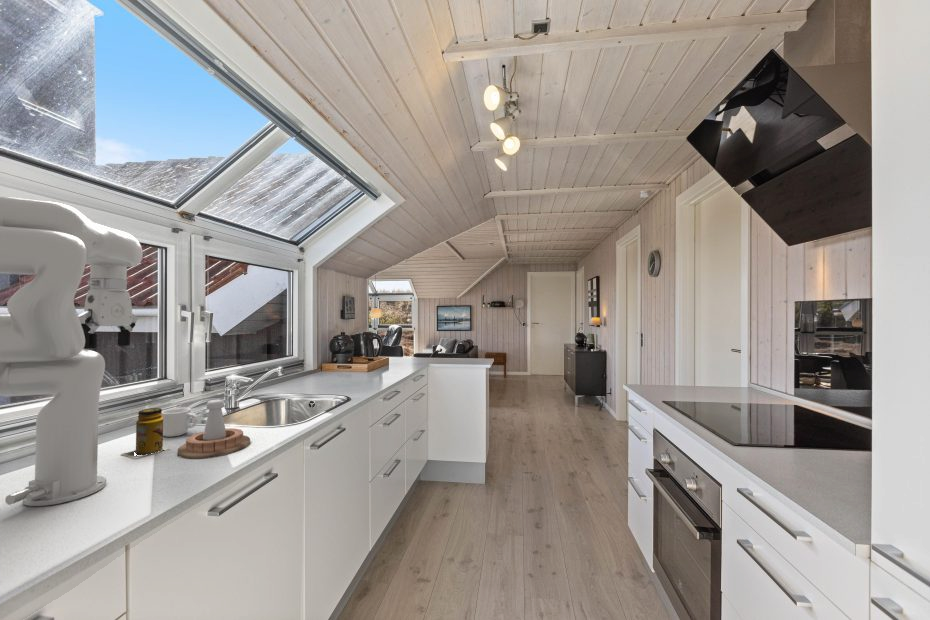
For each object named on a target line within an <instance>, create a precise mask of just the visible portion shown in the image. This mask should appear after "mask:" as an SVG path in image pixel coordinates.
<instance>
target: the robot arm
mask: <svg viewBox="0 0 930 620" xmlns="http://www.w3.org/2000/svg"><path fill="white" fill-rule="evenodd" d="M143 251H144V250H143V248H142V245H141V243H140V242H139V240H138V239H137V238H136V237H134V236H133V235H132V234H130V233H128V232H126V231H122V230H119V229H115V228H111V227H108V226H105V225H102V224H99V223H95V222H93V221H92V220H91V219H89V218H87V216H85V214H83V213H82V212H80V211H79V210H78V209H76V208H75V207H73V206H70V205H67V204H63V203H60V202H53V201H46V200H37V199H29V198H28V199H27V198H18V197H9V196H0V274H2V275H24V276H25V275H31V276H35V277H34V278H33V279H32V280H31V281H29V282H28V283H26V284H24V285H23V286H21V287H20V288H18V290H16V291H15V292H14V293H13V294H12V295H11V297H10V298H8V301H7V304H6V308H7V311H8V313H0V397H23V396H24V397H25V396H38V395H53V397H52V399H50V401H49V402H47V403H46V404H45V405H44V406H43V407H42V408H41V409H40V410H39V412H38V414H37V415H36V420H35V450H34V451H35V452H34V453H35V454H34V456H35V458H34V479H32V480H30V481H29V480H28V486H26V487H25V488H23V489H22V490H19V491H16V492H13V493H11V494H8V495H7V496H5V500H4V501H5V503H6V504H7V505H11V506H12V505H13V504H16V503H19V502H22V503H23V505H25V506H27V507H46V506H53V505H59V504H63V503H66V502H67V503H68V502H72V501H75V500H78V499H81V498H85V497H87V496H90V495H92V494H94V493H97V492H99V491H101V490H102V489H103V488H104V487H106V485H107V477H104V476H100V475H98V450H99V449H98V448H99V411H100V410H99V409H100V408H99V406H100V397H101V396H100V393H101V388H102V383H103V379H104V374H105V370H106V361H105V358H104V356H103V355H102V354H101V353H99V352H97V351H95V350H91V349H97V343H98V340H97V337H98V336H97V332H96V330H98V329H99V327H116V328H117V329H118V330H119V331H117V346H120V347H121V346H128V347H129V346H130V344H131V333H132V332H133V329H134V328H135V326H136V324H137V321H138V319H139V317H138V316H137V315H135V314H133V307H132V306H133V305H132V298H131V295H130V292H129V291H127V283H128V280H127V279H128V276H127V275H128V274H127V273H128V268H129V267H130V268H131V267H136V266H138V265H139V264H141V262H142V261H143V256H144V255H143V254H144V253H143ZM86 265H90V267H89V268H90V270H89V274H90V275H89V280H88V281H87V285H88V286H89V289H88V290H87V294H86V297H85V301H84V302H85V303H84V309H83V312H81V313H79V314H78V312H77V309H76V307H75V301H74V300H75V296H76V293H77V291H78V288H79V286H80V284H81V281H82V279H83V276H84V272H85V269H86V268H85V267H86ZM95 332H96V333H95Z"/></svg>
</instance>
